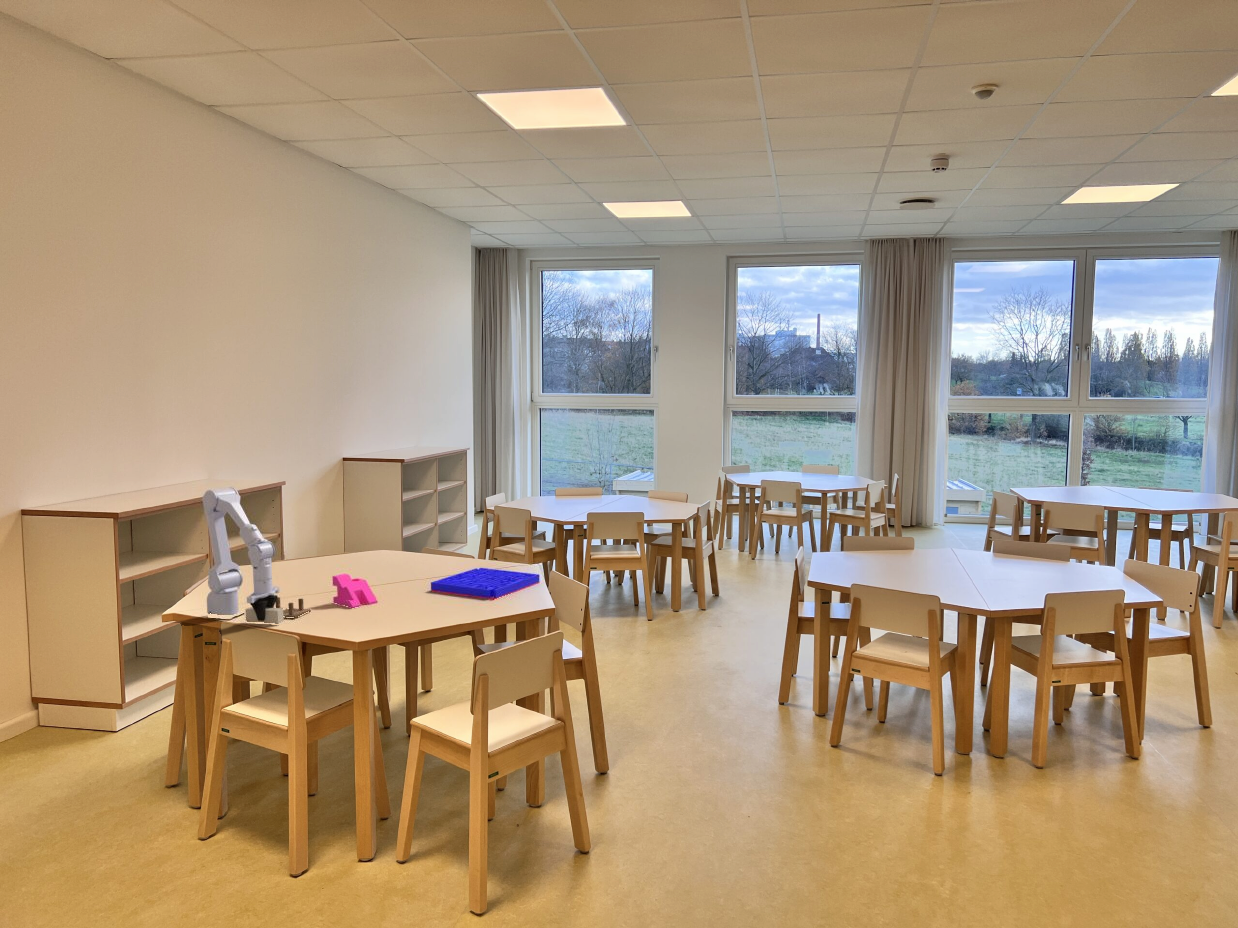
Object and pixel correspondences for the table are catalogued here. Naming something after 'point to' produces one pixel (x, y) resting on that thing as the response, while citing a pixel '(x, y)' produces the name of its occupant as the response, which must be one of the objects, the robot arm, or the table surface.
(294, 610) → the rack
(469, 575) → the maze
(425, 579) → the table surface
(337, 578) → the bracket
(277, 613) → the beige rectangular block
